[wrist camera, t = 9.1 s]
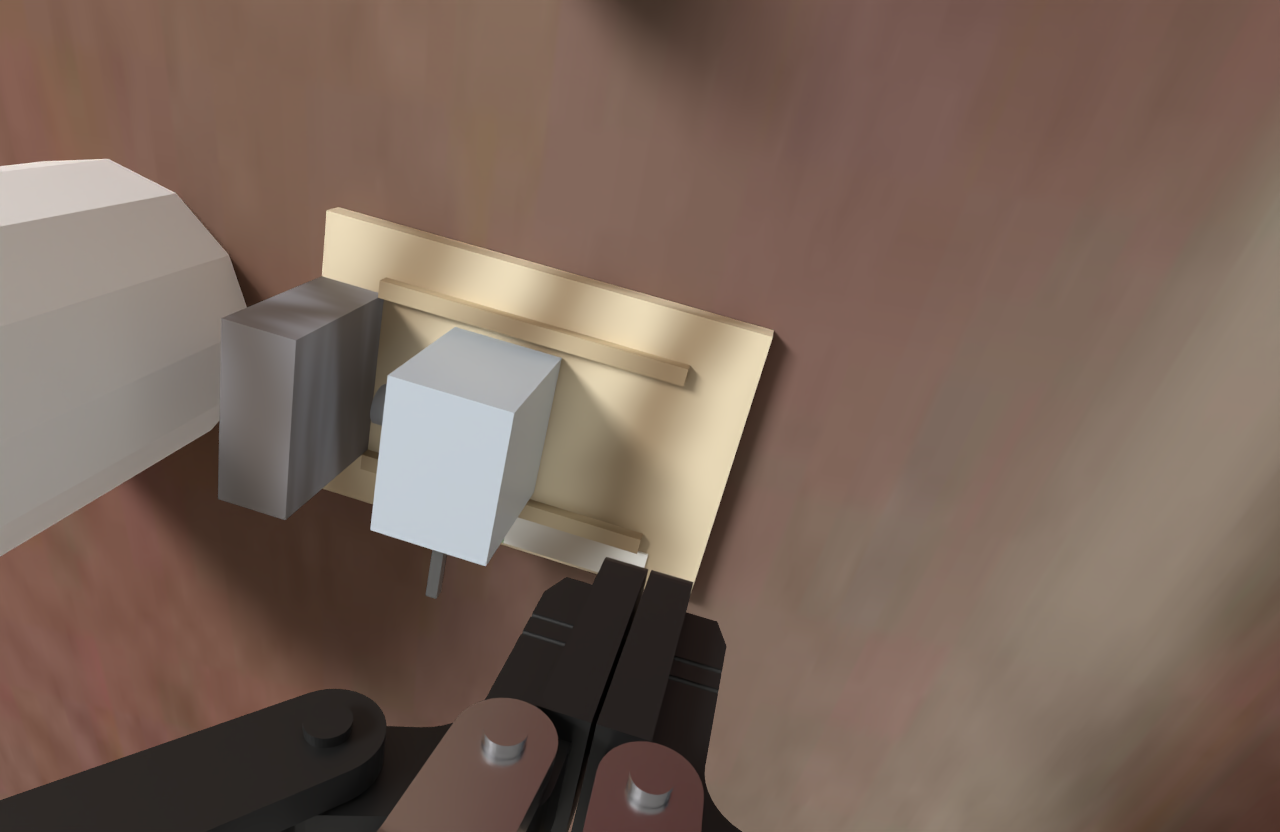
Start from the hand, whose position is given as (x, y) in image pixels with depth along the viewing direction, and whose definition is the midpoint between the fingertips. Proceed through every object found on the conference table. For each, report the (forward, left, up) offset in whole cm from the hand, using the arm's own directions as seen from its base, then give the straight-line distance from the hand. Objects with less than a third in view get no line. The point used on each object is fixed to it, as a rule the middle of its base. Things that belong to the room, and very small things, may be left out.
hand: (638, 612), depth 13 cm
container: (+29, +10, -24) cm, 39 cm away
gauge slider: (+10, +10, -22) cm, 26 cm away
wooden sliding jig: (+8, +9, -23) cm, 26 cm away
